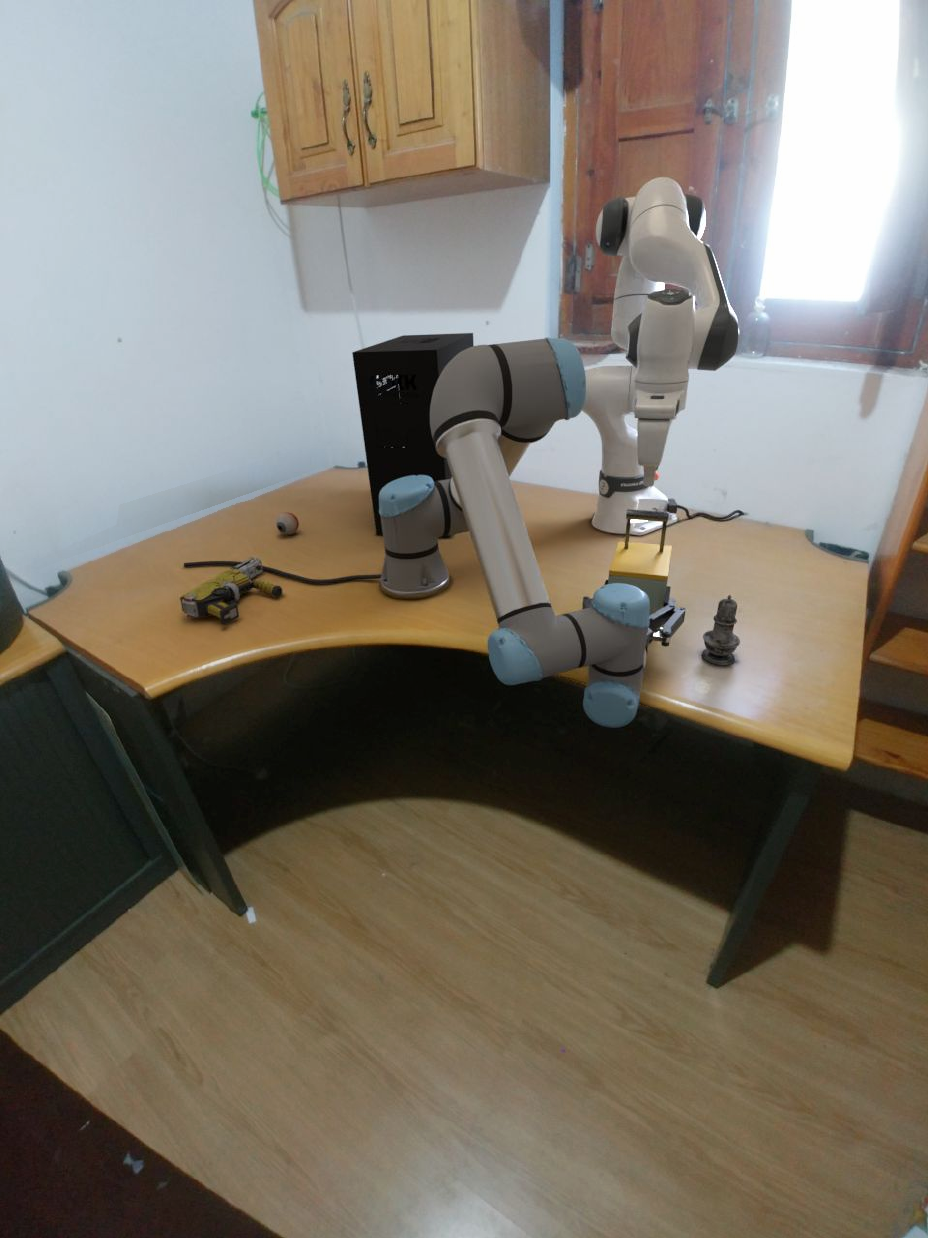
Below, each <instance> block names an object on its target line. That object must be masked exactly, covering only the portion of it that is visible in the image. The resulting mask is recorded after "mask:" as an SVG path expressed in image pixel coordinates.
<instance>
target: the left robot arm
mask: <svg viewBox="0 0 928 1238" xmlns="http://www.w3.org/2000/svg"><path fill="white" fill-rule="evenodd" d="M583 361H584V360H583V359H582V356H581V354H580V351H579V349H578V348H577V346H576V345H575V344H574V343H573V342H572V341H571V340H569V339H567V338H563V337H555V338H554V337H553V338H551V337H544V338H537V339H528V340H520V341H512V342H511V341H510V342H502V343H492V344H478V345H474V346H473V347H470V348H467V349H465V350H464V351H462V352H460V353H459V354H457V355H456V356H455V357H454V358H453V359H452V360H451V361H450V362H449V363H448V364H447V365H446V366H445V368H444V369H443V371H442V373H441V374H440V376H439V378H438V380H437V383H436V385H435V388H434V391H433V395H432V400H431V405H430V427H431V433H432V437H433V441H434V444H435V447H436V450H437V453H438V454H439V455H440V456H442V457H444V458H446V459H447V462H448V465H449V468H450V472H451V475H452V477H451V479H447V480H441V481H436V482H434V481H433V479H432V478H431V477H429V476H427V475H418V476H415V475H411V476H406V477H402V478H399V479H396V480H394V481H391V482H390V483H388V484H386V485H385V486H384V487H383V488H382V489H381V491H380V493H379V514H380V516H381V524H382V532H383V535H382V538H383V546H384V559H383V564H382V569H381V574H380V573H378V574H377V573H376V574H356V575H348V576H342V577H336V578H335V577H334V578H326V579H325V578H324V579H318V578H317V579H316V578H308V577H304V576H301V575H297V574H294V573H289V572H287V571H283V570H281V569H277V568H274V567H269V566H265V565H262V570H263V571H265V572H269V573H273V574H276V575H279V576H283V577H285V578H289V579H293V580H297V581H300V582H304V583H308V584H315V585H316V584H317V585H328V584H337V583H342V582H350V581H358V580H379V581H380V589H381V591H382V592H383V593H384V594H385V595H387V596H389V597H392V598H395V599H398V600H399V599H400V600H420V599H426V598H429V597H433V596H436V595H438V594H440V593H442V592H443V591H445V589H446V588H448V586H449V584H450V573H449V570H448V568H447V566H446V564H445V561H444V558H443V556H442V554H441V552H440V547H439V538H442V537H441V536H447V535H451V536H452V535H456V534H457V535H458V534H461V533H466V532H469V535H470V538H471V541H472V545H473V548H474V551H475V555H476V557H477V560H478V564H479V567H480V570H481V574H482V577H483V579H484V583H485V586H486V589H487V592H488V596H489V600H490V602H491V605H492V609H493V612H494V616H495V619H496V622H497V626H498V629H497V630H493V631H491V633H490V634H489V636H488V638H487V651H488V658H489V662H490V666H491V668H492V671H493V674H495V676H496V677H497V679H498V680H499V681H500V682H501V683H502V684H504V685H507V686H516V685H520V684H525V683H530V682H538V681H541V680H542V679H544V678H548V677H551V676H555V675H558V674H562V673H567V672H569V671H574V670H578V669H581V668H585V667H588V673H587V683H586V687H584V690H583V700H582V707H583V711H584V713H585V714H586V716H587V717H588V718H589V719H590V720H591V721H592V722H593V723H595V724H597V725H598V726H600V727H604V728H605V727H606V728H610V729H619V728H622V727H625V726H627V725H629V724H630V723H631V722H632V721H633V720H634V719H635V717H636V716H637V711H638V709H639V708H640V699H641V692H642V687H643V686H642V685H643V678H644V673H645V668H646V663H647V657H648V651H649V646H650V644H651V643H652V642H659V643H661V646H662V647H669V646H670V642H671V638H672V637H673V636H674V635H675V633H676V632H677V631H678V630H679V629H680V627H681V626H682V625H683V624H684V622H685V619H686V618H685V617H686V611H687V608H686V607H683V606H680V607H678V608H677V607H676V601H677V599H675V598H672V597H670V594H671V588H672V587H671V586H669V585H667V587H666V593H665V599H664V606H663V608H662V609H660V610H658V611H657V612H655V613H653V614H651V615H650V601H649V598H648V596H647V594H646V593H645V592H644V591H641V590H640V589H639V588H638V587H635V586H632V585H629V584H622V583H613V584H608V579H605V581H604V584H603V585H601V586H600V587H599V588H597V589H596V590H595V591H594V593H593V596H592V598H590V597H589V596H587V595H586V596H583V597H582V608H581V609H579V610H575V611H570V612H567V613H561V614H558V615H557V614H555V612H554V609H553V607H552V604H551V601H550V597H549V594H548V592H547V588H546V584H545V582H544V579H543V576H542V573H541V570H540V567H539V564H538V561H537V558H536V555H535V552H534V549H533V546H532V543H531V539H530V536H529V534H528V531H527V528H526V527H527V526H526V523H525V521H524V518H523V515H522V512H521V509H520V506H519V503H518V500H517V497H516V494H515V491H514V488H513V485H512V482H511V479H510V477H511V475H512V474H513V472H514V471H515V469H516V468H517V466H518V464H519V463H520V461H521V459H522V458H523V457H524V455H525V454H526V452H527V450H528V448H529V447H530V445H531V444H535V443H537V442H538V441H541V440H542V439H544V438H546V436H547V435H548V434H549V432H550V431H551V429H552V428H553V427H554V425H555V423H556V422H558V421H561V420H565V421H569V420H571V419H573V418H577V417H578V416H579V415H580V414H581V413H582V412H583V411H582V408H583V406H584V403H585V397H586V376H585V365H584V362H583ZM242 562H243V561H236V560H204V561H191V562H183V567H185V568H187V567H200V566H201V567H202V566H237V565H238V564H240V563H242ZM256 569H257V570H261V564H259V565H258V566H256ZM660 626H661V628H660V630H657V632H654V631H656V630H655V629H657V628H659V627H660Z"/></svg>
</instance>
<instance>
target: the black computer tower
mask: <svg viewBox="0 0 928 1238" xmlns="http://www.w3.org/2000/svg"><path fill="white" fill-rule="evenodd" d="M473 346H475V345H474V333H473V332H462V333H434V334H433V333H432V334H407V335H406V334H405V335H404V334H403V335H399V336H397V337H395V338H391V339H388V340H386V341H382V342H380V343H376V344H373V345H370V346H367V347H364V348H361V349H358V350H355V351H352V352H351V354H352V361H353V367H354V376H355V384H356V391H357V399H358V406H359V407H358V408H359V415H360V421H361V428H362V436H363V444H364V452H365V458H366V459H365V461H366V466H367V474H368V481H369V489H370V496H371V503H372V504H371V505H372V511H373V518H374V519H373V520H374V527H375V535H376V536H383V532H382V524H381V516H380V514H379V493H380V491H381V489H382V488H383V487H384V486H385V485H386V484H388V483H390V482H391V481H394V480H396V479H399V478H402V477H406V476H411V475H415V476H418V475H427V476H429V477H431V478H432V479H433V481H434V482H436V481H441V480H447V479H451V477H452V475H451V472H450V468H449V465H448V462H447V459H446V458H444V457H442V456H440V455H439V454H438V453H437V450H436V447H435V444H434V441H433V437H432V433H431V427H430V405H431V400H432V395H433V391H434V388H435V385H436V383H437V380H438V378H439V376H440V374H441V373H442V371H443V369H444V368H445V366H446V365H447V364H448V363H449V362H450V361H451V360H452V359H453V358H454V357H455V356H456V355H457V354H459V353H460V352H462V351H464V350H465V349H467V348H470V347H473ZM451 536H452V535H447V536H441V537H440V538H446V539H447V538H448V539H450V538H451Z"/></svg>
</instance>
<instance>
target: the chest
mask: <svg viewBox="0 0 928 1238" xmlns="http://www.w3.org/2000/svg"><path fill="white" fill-rule="evenodd" d="M671 559H672V558H671ZM671 559H670V561H671ZM670 566H671V564H670V565H669V568H670ZM669 573H670V571H669V572H668V576H669V575H670V574H669ZM607 580H608V584H613V583H622V584H629V585H632V586H635V587H638V588H639V589H640V590H641V591H644V592H645V593H646V594H647V596H648V598H649V601H650V615H651V614H653V613H655V612H657V611H658V610H660V609H662V608H663V606H664V599H665V593H666V587H667V586H668V580H669V578H668V579H667V581H662V580H652V579H642V578H632V577H623V576H613V575H609V574H608V579H607ZM660 628H662V626H660V627H659V628H657V629H655V630H654V631H660Z"/></svg>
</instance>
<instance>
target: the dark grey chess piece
mask: <svg viewBox="0 0 928 1238" xmlns="http://www.w3.org/2000/svg"><path fill="white" fill-rule="evenodd" d="M737 610H738V603H737V602H736V600H735V599H732V595H731V594H729V595H728V596H727V598H723V599H720V601H719V602H718V605H717V610H716V615H714V616H713V622H714V624H713V628H712V629H711V630H707V631H705V633H703V635H702V639H703V642H704V646H705V649H703V650H702V652H701V656H702V658H703V659H704V660H705V661H706V662H708V663H710V664H714V665H718V666H727V665H731V664H732V663H734V661H735V659H736V657H735V654H733V653H734V652H735V651H736V650H737V648H738V647H739V646H740V644H741V639H740V638H739V636H737V635H736V634H734V628H735V625H736V624H737V623H738V620H737V618H736V615H737Z"/></svg>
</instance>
